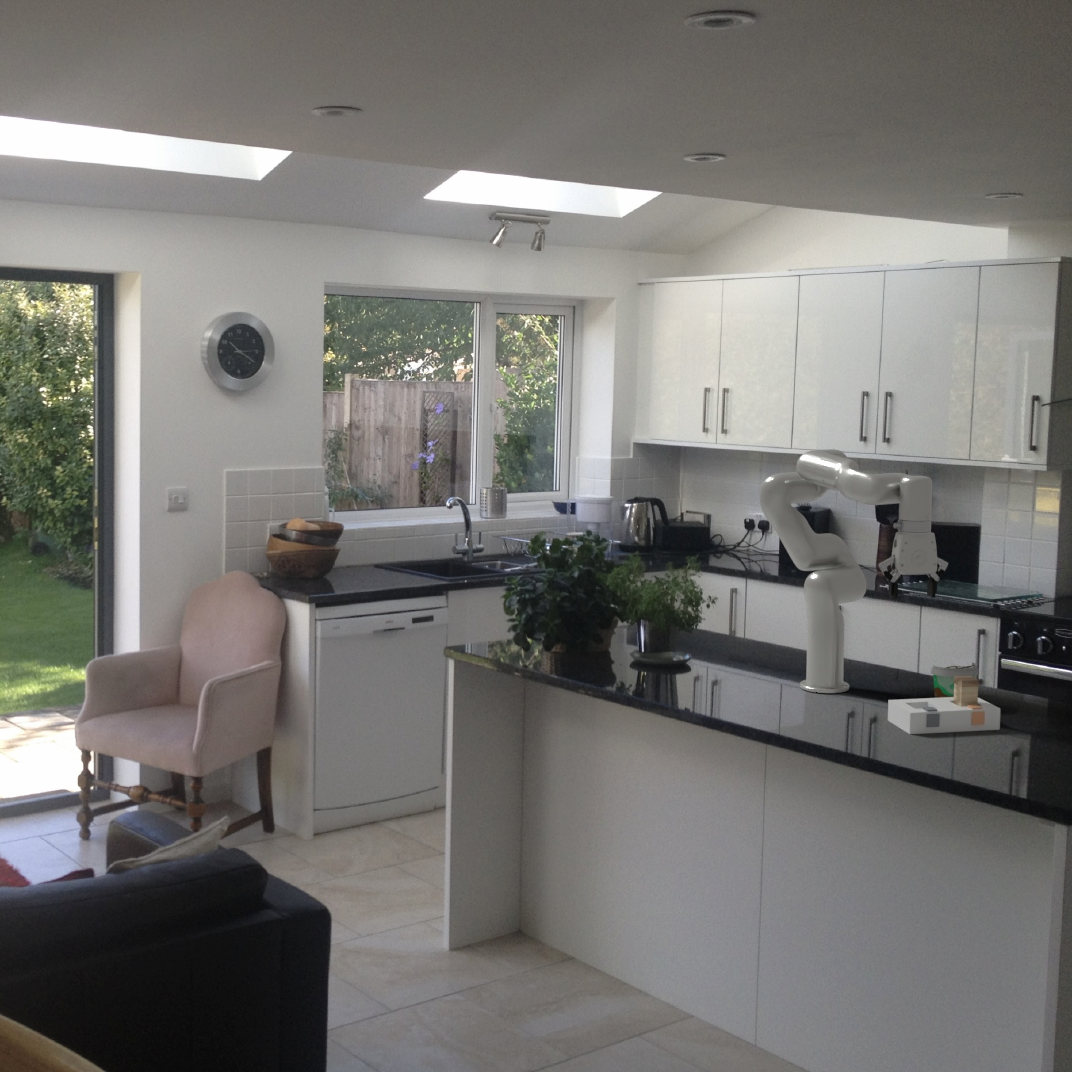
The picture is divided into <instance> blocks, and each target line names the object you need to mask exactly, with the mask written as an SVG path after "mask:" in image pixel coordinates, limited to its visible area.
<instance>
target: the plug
mask: <svg viewBox="0 0 1072 1072" xmlns="http://www.w3.org/2000/svg"><path fill="white" fill-rule="evenodd" d="M979 681H980V680H979V679H978V678H976V677H975V678H974V677H972V676H954V704H956V705H958V706H960V707H964V706H967V705H977V704H978V698H979V697H978V696H979V684H980V683H979Z"/></svg>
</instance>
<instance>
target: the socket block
mask: <svg viewBox="0 0 1072 1072" xmlns="http://www.w3.org/2000/svg"><path fill="white" fill-rule="evenodd" d="M887 702H888V703H887V704H888V705H887V721H888V722H890V723H891V724H893V725H894V726H896V727H897V728H899V729H901V730H902V731H904V732H905V733H906V734H908V735H920V734H922V735H923V734H939V733H941V734H942V733H957V732H958V733H959V732H961V733H962V732H979V731H998V730H999V731H1000V728H1001V708H1000V707H998V706H996V705H994V704H993V703H990V702H988V701H986V700H984V699H983V698H980V697H978V704H977V705H967V706H964V707H960V706H958V705H956V704H954V697H942V698H935V697H927V698H926V697H925V698H904V699H903V698H901V699H888V701H887Z"/></svg>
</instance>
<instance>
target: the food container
mask: <svg viewBox="0 0 1072 1072" xmlns="http://www.w3.org/2000/svg"><path fill="white" fill-rule="evenodd" d="M930 674H931V675H932V677H933V691H934V692H933V693H934V698H942V697H954V676H972V677H974V678H976V676H978V675H979V669H978V666H977V664H976V663H975V662H971V665H966V666H965V665H964V666H960V665H951V666H946V667H941V666H937V665H934V664H933V665H932V668H931V671H930Z"/></svg>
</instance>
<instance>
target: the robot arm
mask: <svg viewBox="0 0 1072 1072" xmlns="http://www.w3.org/2000/svg"><path fill="white" fill-rule="evenodd" d="M831 490H835V491H837V492H839V493H840V494H841V495H842V496H843V497H845V498H846V499H849V500H851V501H855V502H856V503H857V502H858V503H861V504H863V505H869V506H879V505H882V506H883V505H893V504H898V519H897V522H894V523H893V525H892V526H893V529H897V531H896V532H895V535H894V539H893V543H892V550H891V551H892V552H891V556H890V557H889V558H887V559H885V560H883V561H881V562H879V563H878V568H879V570H880V571H881V574H882V575H883V576H884V578H886V580H887V581H888V589H887V590H888V595H889V598H891V599H895V600H897V599H898V596H899V595H898V593H899V583H898V579H899V578H900V577H901V575H903V576H921V575H922V576H923V575H927V576H928V578H929V579H927V583H926V585H927V586H926V588H927V589H926V596H928V597H930V598H936V594H937V593H938V582H939V581H940V578H941V577H942V576H943V575H944V574H945V571H946V570H947V568H948V565H949V562H948V561H945V559H943V558H940V557H938V551H937V549H938V548H937V542H936V536H935V533H934V532H932V510H933V509H932V507H933V480H932V478H930V476H925V475H910V474H907V473H904V472H903V473H902V472H889V473H874V474H873V473H872V474H871V473H866V472H863V471H860V467H859V464H858V463H857V461H855V460H853V459H851V458H849V457H848V456H847V455H846V454H845V453H844V452H843V451H841V450H838V449H834V448H832V449H813V450H809V451H808V450H807V451H806V452H804V453H803V454H802V455H800V456H799V458H798V459H797V462H796V471H793V472H792V471H791V472H789V471H788V472H779V473H774V474H772V475H770V476H768V477H767V478H765V479H764V481H763V482H762V483H761V486H760V489H759V504H760V508H761V511H762V513H763V514H764V517H766V518H765V519H767V521H768V522H769V523H770V525H771V526H772V528H773V529H774V531H775V532H776V534H777V535H778V537H779V539H780V541H781V543H782V545H783V546H784V549H785V550H786V552H787V554H788V555H789V557H790V559H791V561H792V562H793V564H794V565H795V567H796V568H797V569H798V570H800V571H802V572H803V571H804V572H811V573H810V574H808V575H807V577H806V578H805V581H804V584H803V594H804V599H805V604H806V623H807V624H806V667H805V668H806V670H805V671H806V675H805V676H806V677H805V679H804V680H801V681H800V683H799V687H800V689H802V690H803V691H807V692H811V693H816V692H817V693H818V694H837V693H838V694H840V693H844V692H847V691H849V689H850V684H849V683H848V682H847V681H844V664H845V663H844V661H845V659H844V658H845V657H844V656H845V654H844V653H845V620H844V616H843V613H842V610H841V609H840V606H839V605H841V604H848V603H853V602H856V601H859V600H861V599H863V597H864V595H865V594H866V592H867V580H866V577H865V575H864V572H863V571H862V570H863V569H861V567H860V565H859V564H858V562H857V560H856V559H855V557H854V555H853V553H852V552H851V549H850V548H849V547H848V545H847V543H846V542H845V541H844V540H843V539H842V538H841V537H840V536H839V535H836V534H834V533H829V532H828V533H825V532H824V533H816V532H815V531H814V530H813V529H812V527H811V526H810V524H809V522H808V520H807V518H805V516H804V515H803V514H802V513H801V512H800V511H798V510H797V509H796V508H794V507H793V506H792V505H794V504H804V503H805V504H806V503H812V502H815V501H817V500H820V498H822V497H823V496H824V495H826V494H827V493H828V492H829V491H831ZM938 565H939V567H938ZM888 566H890V568H891V569H890V570H891V571H890V572H889V570H888ZM812 571H813V572H812Z"/></svg>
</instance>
